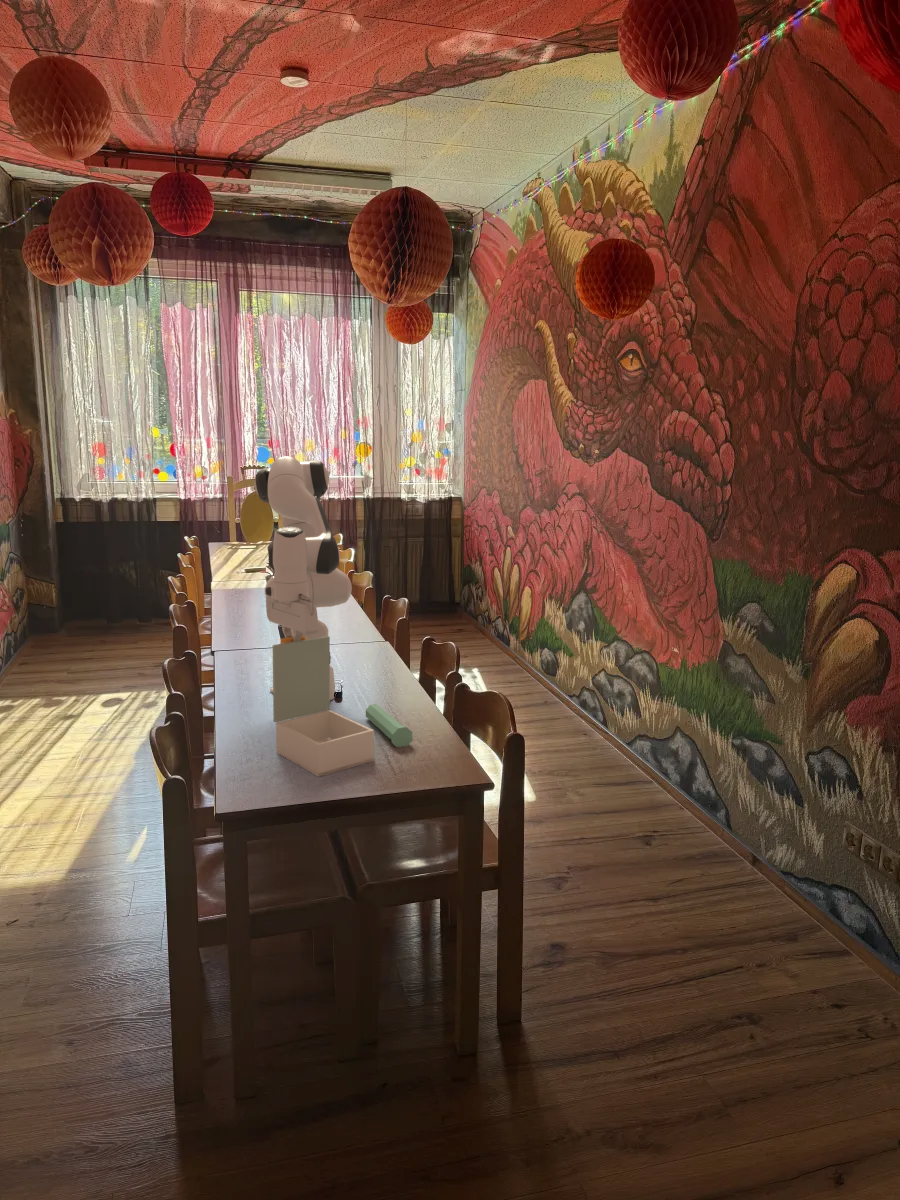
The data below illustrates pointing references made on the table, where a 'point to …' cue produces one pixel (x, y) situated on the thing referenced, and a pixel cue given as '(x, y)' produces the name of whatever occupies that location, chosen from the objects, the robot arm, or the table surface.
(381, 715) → the green octagonal rod
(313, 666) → the lid
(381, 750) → the table surface
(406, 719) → the table surface
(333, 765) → the parts tub
